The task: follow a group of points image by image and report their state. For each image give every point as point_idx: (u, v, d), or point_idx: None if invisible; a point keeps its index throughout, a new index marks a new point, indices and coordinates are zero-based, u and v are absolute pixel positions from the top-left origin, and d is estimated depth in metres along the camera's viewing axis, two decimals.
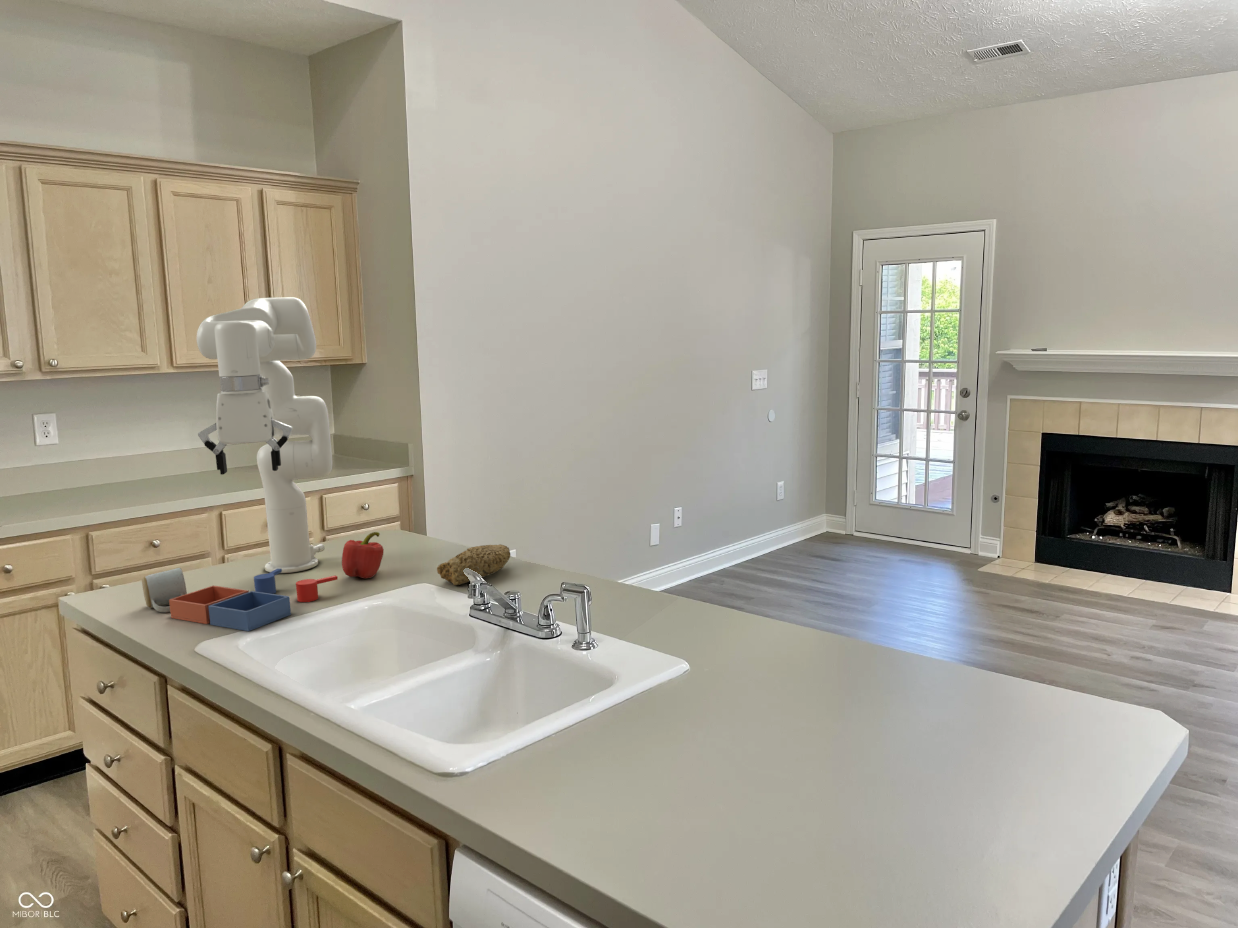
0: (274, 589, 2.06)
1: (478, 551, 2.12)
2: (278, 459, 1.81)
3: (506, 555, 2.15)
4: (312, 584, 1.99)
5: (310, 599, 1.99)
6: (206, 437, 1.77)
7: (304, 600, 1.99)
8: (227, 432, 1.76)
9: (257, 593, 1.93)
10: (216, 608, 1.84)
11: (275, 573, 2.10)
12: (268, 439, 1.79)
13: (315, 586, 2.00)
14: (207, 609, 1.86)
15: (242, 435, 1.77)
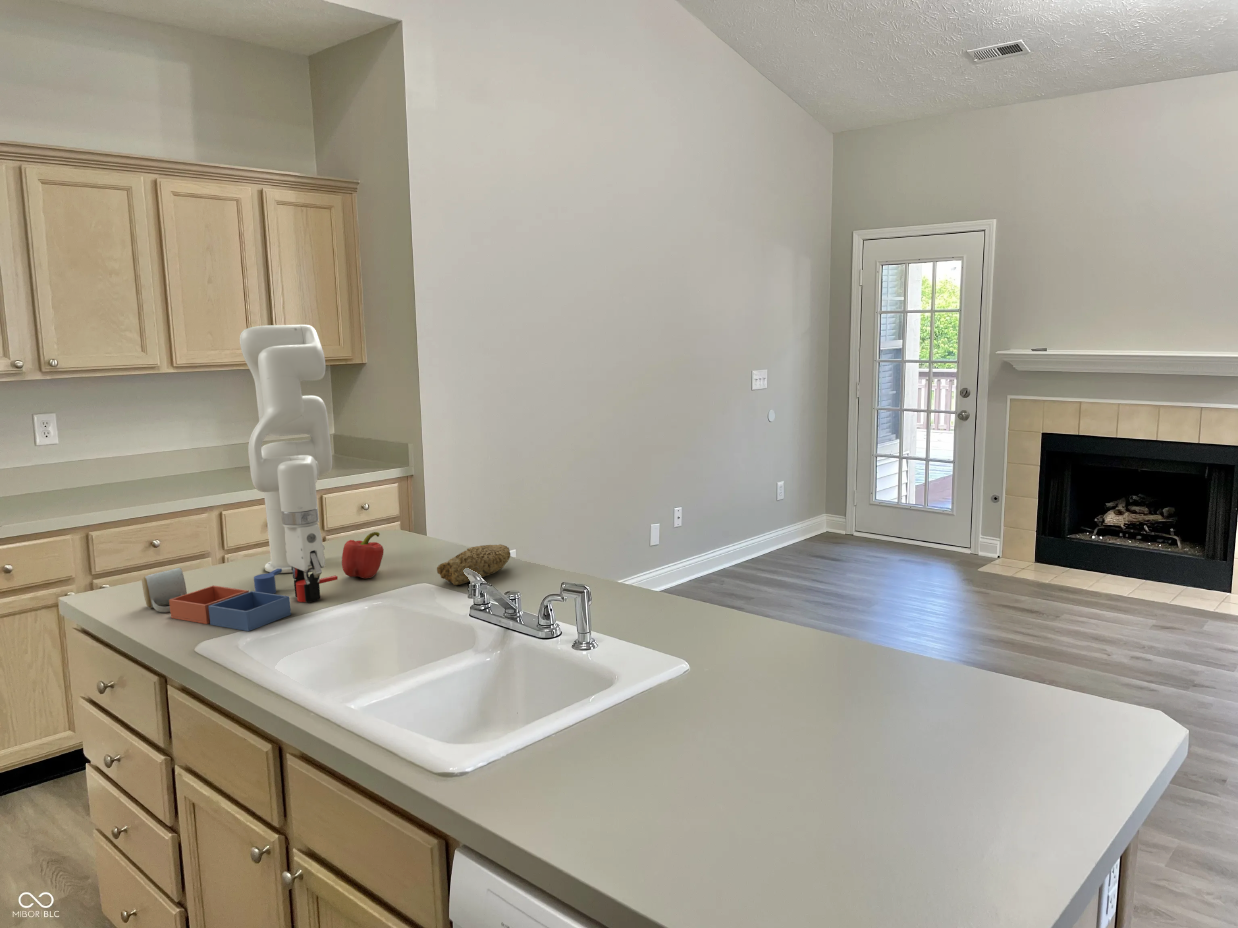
0: (274, 589, 2.06)
1: (478, 551, 2.12)
2: (310, 592, 1.97)
3: (506, 555, 2.15)
4: None
5: None
6: None
7: (304, 600, 1.99)
8: (288, 556, 2.00)
9: (257, 593, 1.93)
10: (216, 608, 1.84)
11: (275, 573, 2.10)
12: (305, 570, 1.95)
13: None
14: (207, 609, 1.86)
15: (293, 562, 1.98)
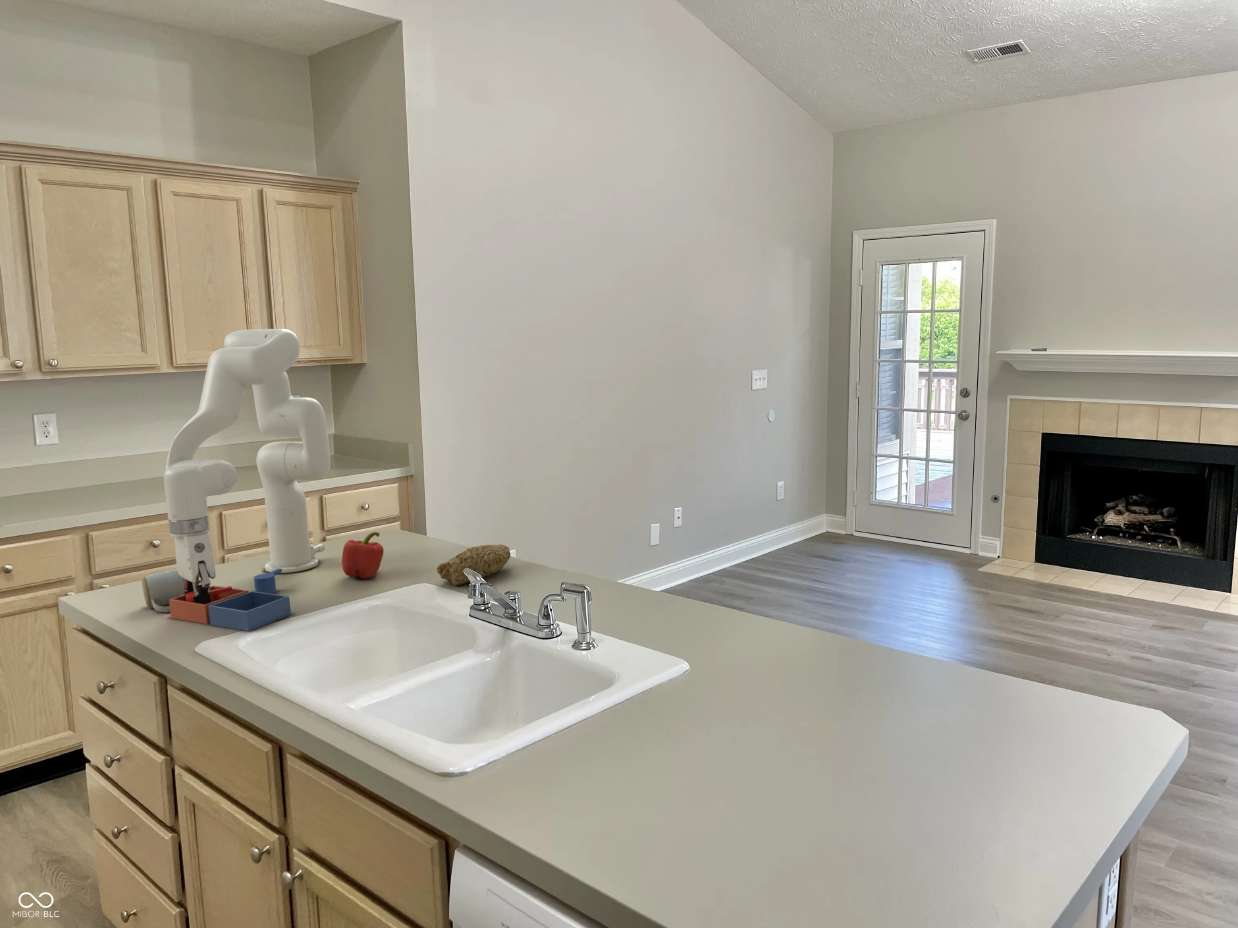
0: (274, 589, 2.06)
1: (478, 551, 2.12)
2: None
3: (506, 555, 2.15)
4: None
5: None
6: None
7: None
8: (178, 566, 1.91)
9: (257, 593, 1.93)
10: (216, 608, 1.84)
11: (275, 573, 2.10)
12: (193, 581, 1.86)
13: None
14: (207, 609, 1.86)
15: (182, 572, 1.89)
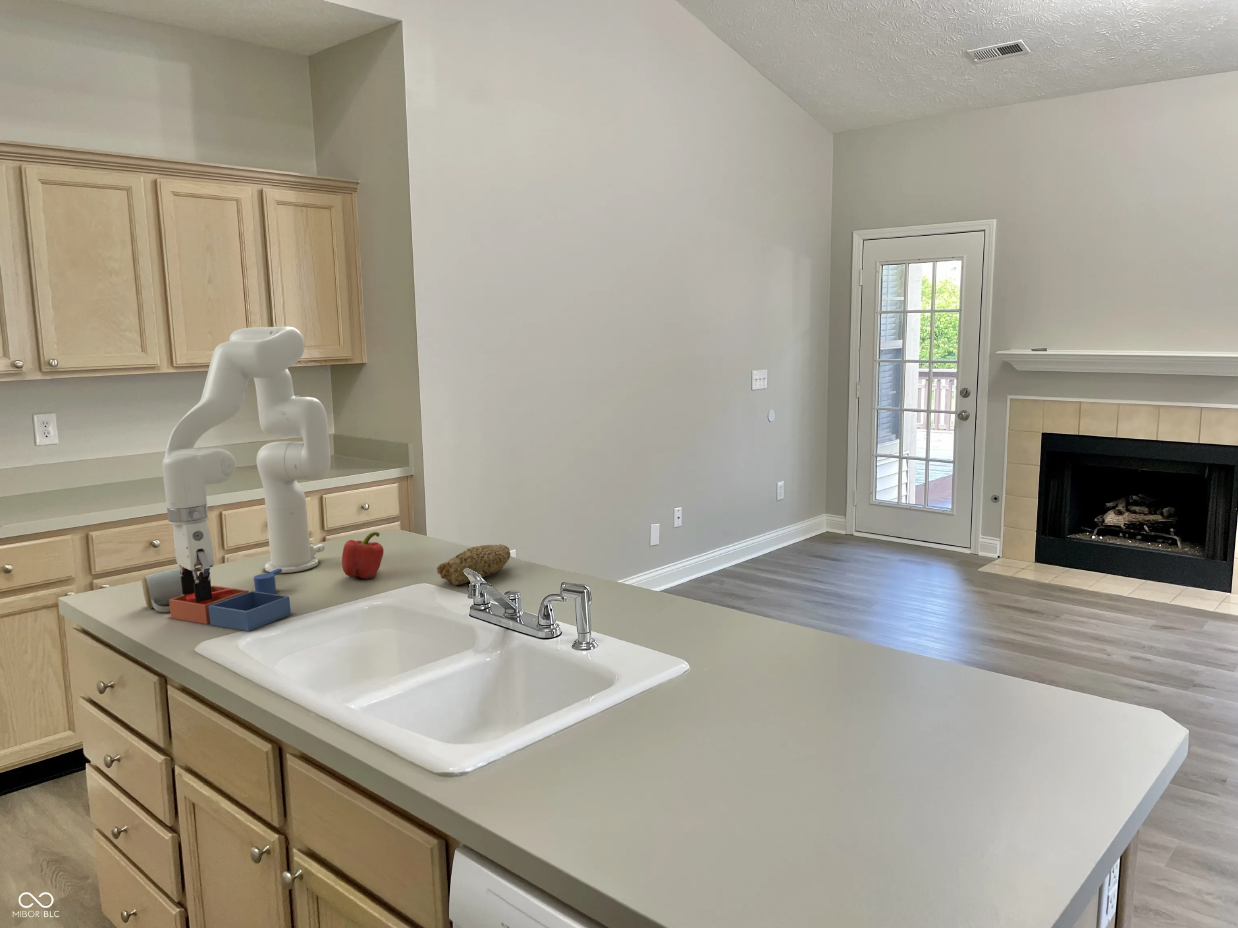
0: (274, 589, 2.06)
1: (478, 551, 2.12)
2: (200, 592, 1.87)
3: (506, 555, 2.15)
4: None
5: None
6: None
7: None
8: (176, 555, 1.90)
9: (257, 593, 1.93)
10: (216, 608, 1.84)
11: (275, 573, 2.10)
12: (192, 569, 1.86)
13: (206, 600, 1.91)
14: (207, 609, 1.86)
15: (181, 561, 1.88)
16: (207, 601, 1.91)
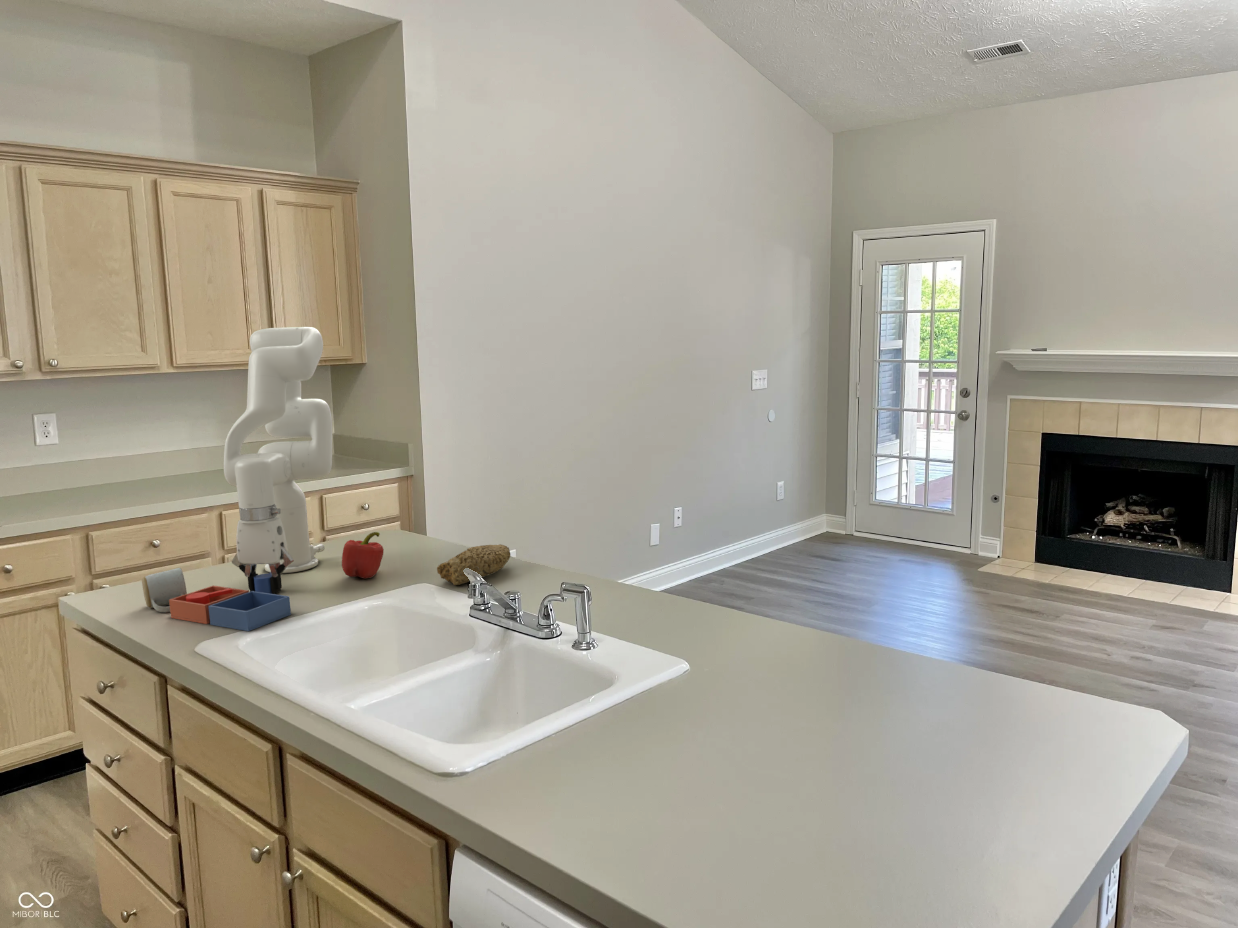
0: None
1: (478, 551, 2.12)
2: (277, 584, 2.05)
3: (506, 555, 2.15)
4: (203, 598, 1.90)
5: None
6: (238, 562, 2.06)
7: None
8: (244, 554, 2.03)
9: (257, 593, 1.93)
10: (216, 608, 1.84)
11: None
12: (276, 562, 2.03)
13: (206, 600, 1.91)
14: (207, 609, 1.86)
15: (255, 557, 2.03)
16: (207, 601, 1.91)
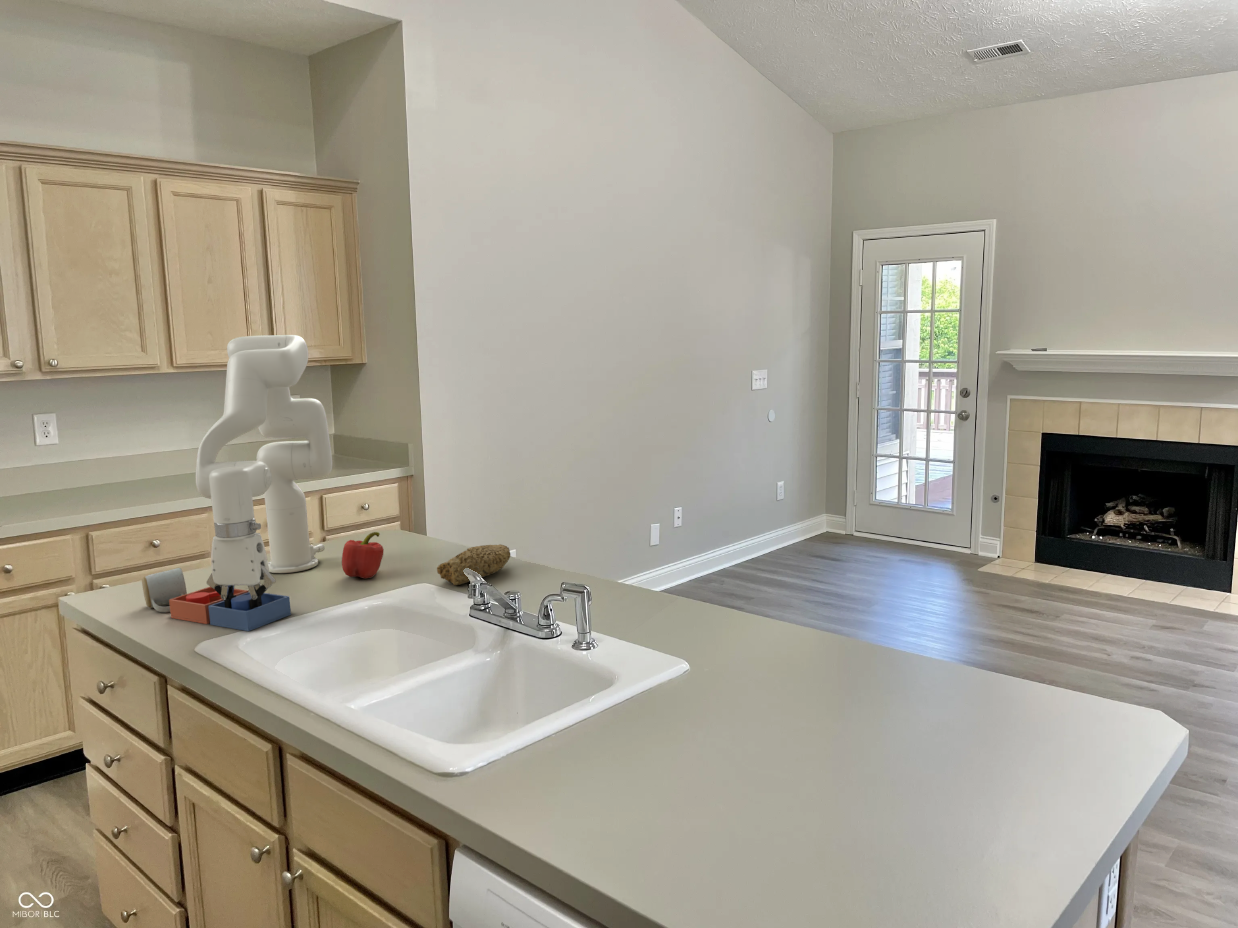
0: None
1: (478, 551, 2.12)
2: None
3: (506, 555, 2.15)
4: (203, 598, 1.90)
5: None
6: (214, 583, 1.84)
7: None
8: (220, 574, 1.82)
9: None
10: (216, 608, 1.84)
11: None
12: (256, 583, 1.82)
13: (206, 600, 1.91)
14: (207, 609, 1.86)
15: (232, 578, 1.82)
16: (207, 601, 1.91)
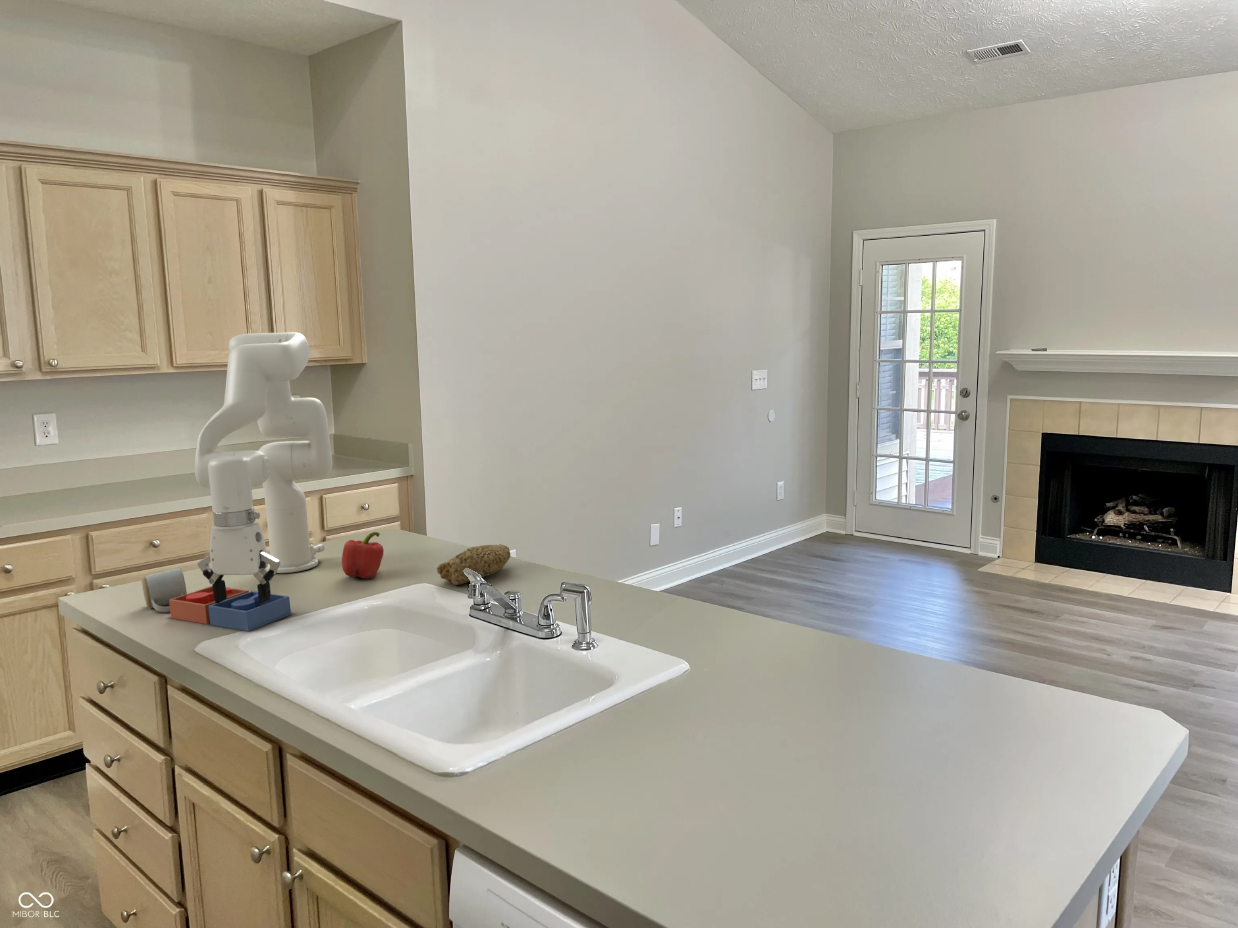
0: None
1: (478, 551, 2.12)
2: (265, 592, 1.83)
3: (506, 555, 2.15)
4: (203, 598, 1.90)
5: None
6: (204, 566, 1.84)
7: None
8: (218, 564, 1.82)
9: None
10: (216, 608, 1.84)
11: (255, 598, 1.89)
12: (255, 572, 1.82)
13: (206, 600, 1.91)
14: (207, 609, 1.86)
15: (231, 567, 1.81)
16: (207, 601, 1.91)
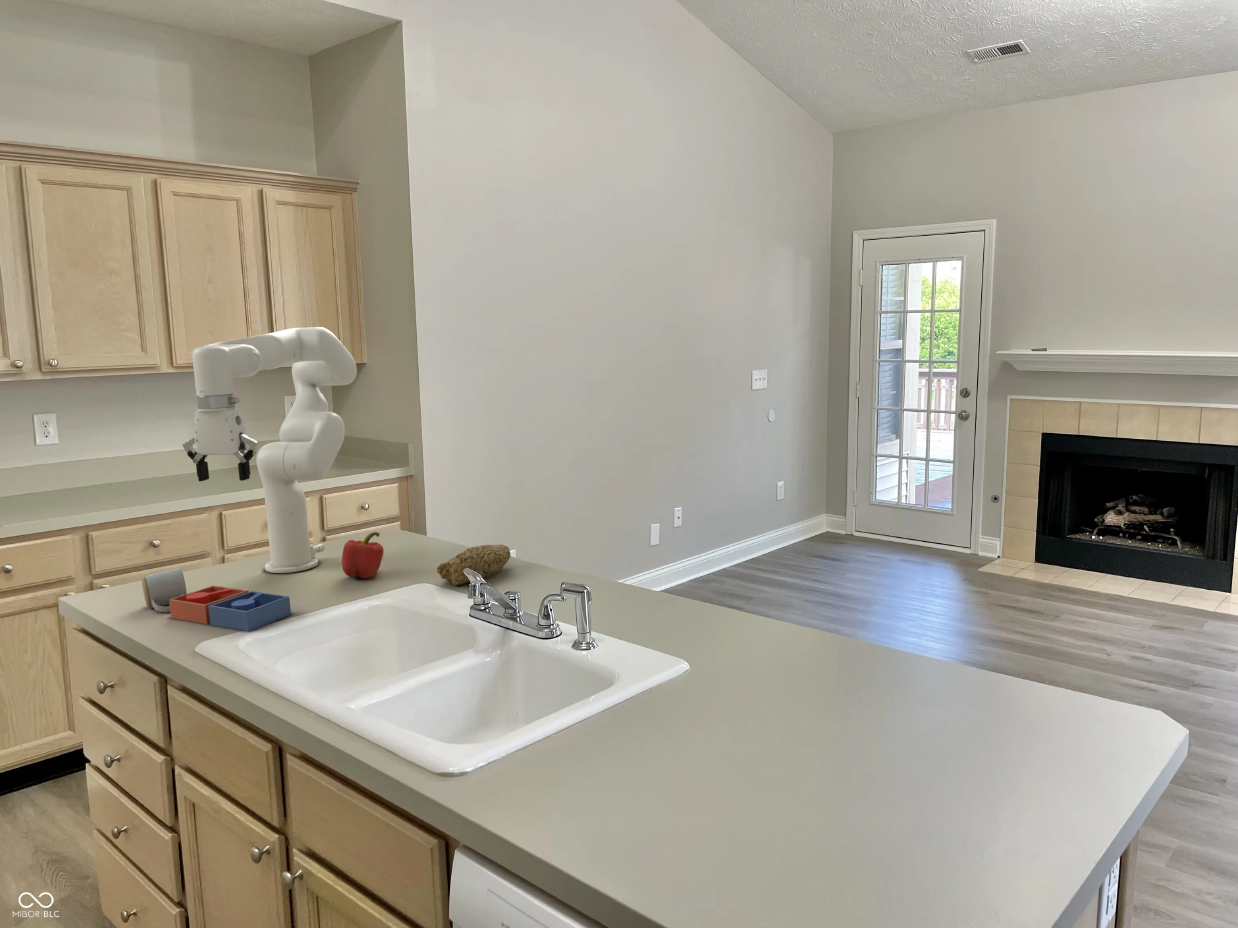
0: None
1: (478, 551, 2.12)
2: (245, 470, 2.01)
3: (506, 555, 2.15)
4: (203, 598, 1.90)
5: None
6: (189, 448, 2.02)
7: None
8: (202, 444, 2.00)
9: None
10: (216, 608, 1.84)
11: (255, 598, 1.89)
12: (235, 452, 1.99)
13: (206, 600, 1.91)
14: (207, 609, 1.86)
15: (213, 448, 1.99)
16: (207, 601, 1.91)
